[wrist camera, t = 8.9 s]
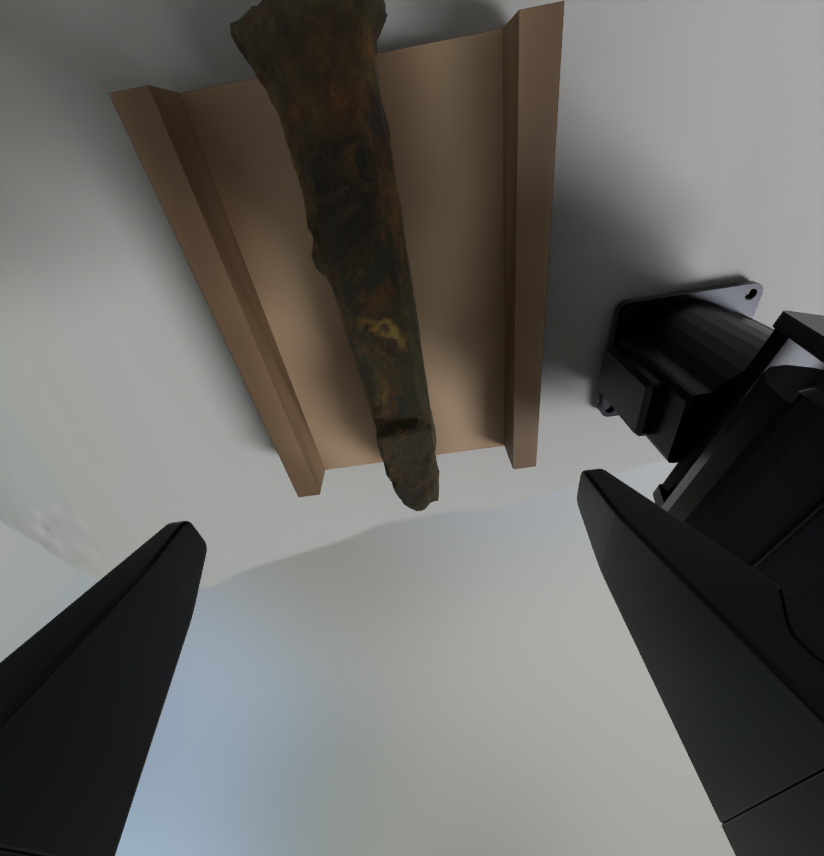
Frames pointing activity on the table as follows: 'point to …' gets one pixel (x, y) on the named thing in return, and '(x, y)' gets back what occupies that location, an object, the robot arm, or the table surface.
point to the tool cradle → (423, 228)
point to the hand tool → (352, 208)
